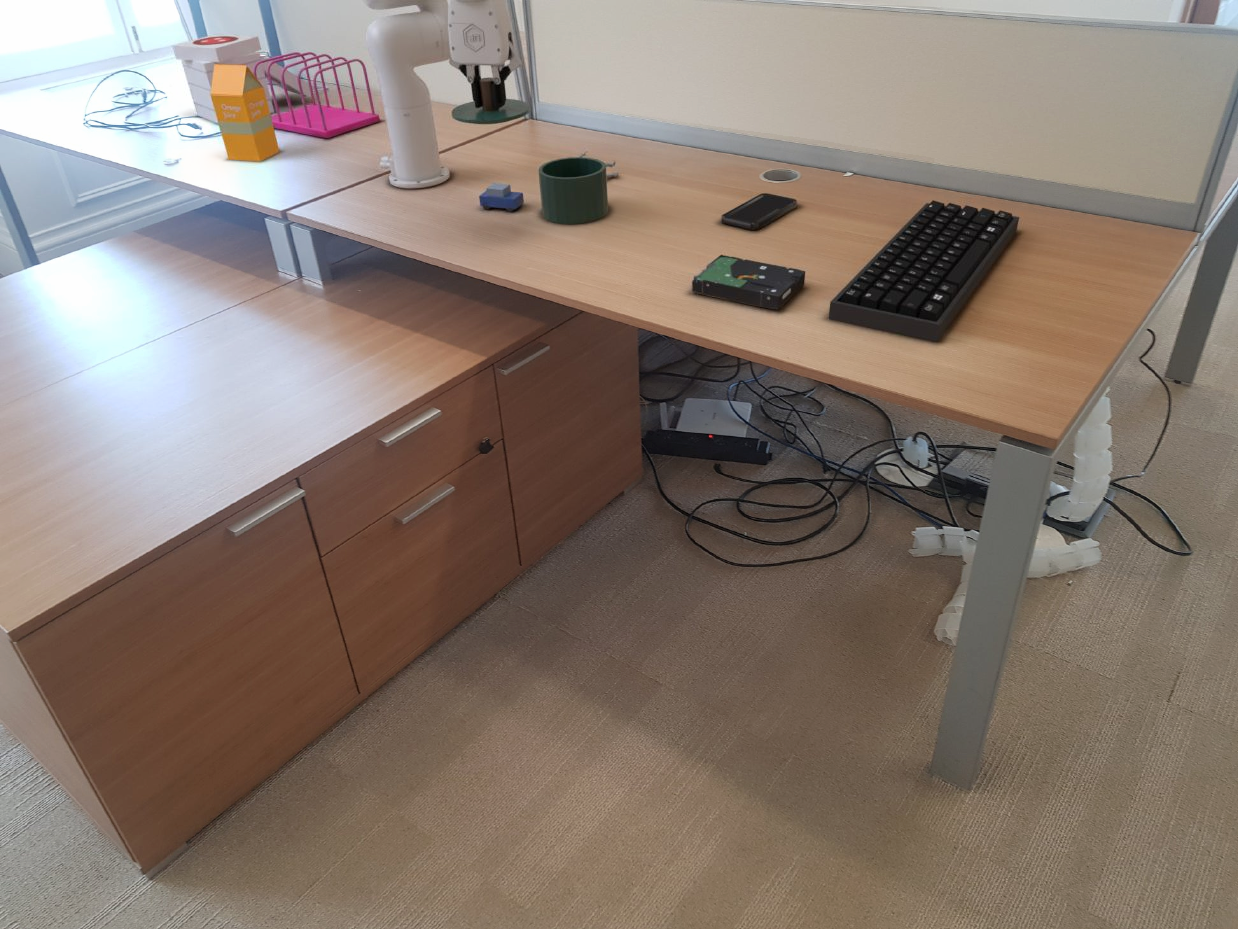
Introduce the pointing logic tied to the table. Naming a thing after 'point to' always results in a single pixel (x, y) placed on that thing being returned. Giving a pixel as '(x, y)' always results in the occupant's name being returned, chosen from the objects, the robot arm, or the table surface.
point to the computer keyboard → (926, 271)
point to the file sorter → (319, 116)
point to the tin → (573, 190)
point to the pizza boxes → (228, 50)
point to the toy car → (501, 197)
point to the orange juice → (242, 113)
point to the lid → (490, 108)
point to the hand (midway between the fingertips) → (490, 105)
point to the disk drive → (749, 282)
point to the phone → (759, 211)
